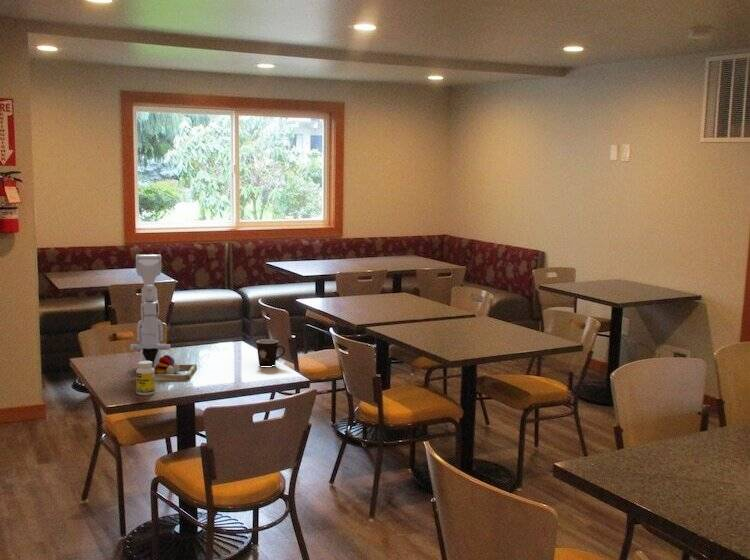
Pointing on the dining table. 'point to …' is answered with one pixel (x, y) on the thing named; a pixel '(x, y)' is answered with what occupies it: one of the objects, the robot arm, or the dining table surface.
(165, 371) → the red and white piece
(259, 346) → the coffee mug
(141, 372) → the pill bottle
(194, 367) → the beige wooden tray
